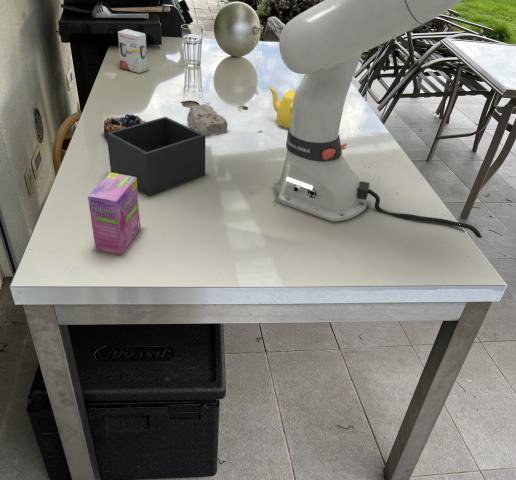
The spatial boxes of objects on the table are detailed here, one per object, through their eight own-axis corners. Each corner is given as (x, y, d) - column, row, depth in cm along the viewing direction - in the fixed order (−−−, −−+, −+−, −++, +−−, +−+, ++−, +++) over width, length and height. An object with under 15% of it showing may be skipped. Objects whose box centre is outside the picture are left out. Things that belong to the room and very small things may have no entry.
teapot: (283, 136, 155) (287, 99, 148) (264, 119, 163) (267, 84, 156) (323, 131, 160) (329, 95, 153) (303, 116, 168) (308, 81, 161)
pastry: (99, 132, 147) (96, 111, 143) (140, 126, 152) (138, 105, 148) (114, 148, 140) (112, 125, 136) (156, 141, 146) (155, 119, 142)
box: (122, 255, 104) (116, 200, 96) (95, 250, 105) (86, 195, 97) (141, 229, 112) (137, 176, 104) (115, 224, 113) (109, 171, 105)
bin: (205, 175, 133) (205, 135, 126) (149, 196, 123) (146, 154, 116) (167, 155, 139) (165, 116, 133) (111, 174, 129) (106, 132, 123)
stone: (232, 124, 150) (198, 123, 146) (228, 142, 154) (195, 142, 150) (218, 99, 157) (185, 97, 153) (214, 117, 161) (183, 116, 157)
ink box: (119, 68, 189) (116, 31, 181) (128, 65, 193) (125, 28, 185) (139, 73, 187) (137, 36, 179) (148, 70, 190) (146, 33, 182)
